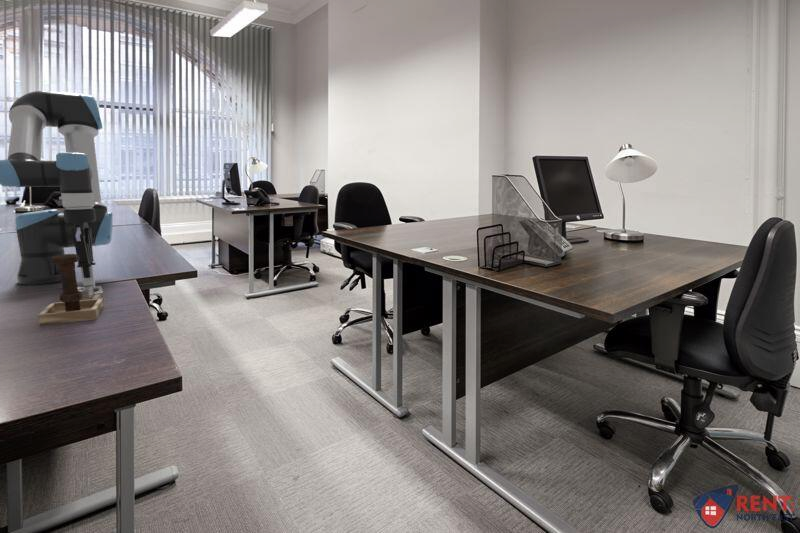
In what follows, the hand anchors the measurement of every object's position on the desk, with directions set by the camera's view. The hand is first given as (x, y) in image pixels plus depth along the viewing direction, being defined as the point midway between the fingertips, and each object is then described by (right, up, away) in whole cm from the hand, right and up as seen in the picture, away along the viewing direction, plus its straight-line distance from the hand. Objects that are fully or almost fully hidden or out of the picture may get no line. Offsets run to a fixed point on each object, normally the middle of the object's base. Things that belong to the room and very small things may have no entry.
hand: (89, 287), depth 136 cm
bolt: (+9, -6, -19) cm, 22 cm away
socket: (+7, -5, -14) cm, 16 cm away
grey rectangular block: (+3, -4, -7) cm, 8 cm away
